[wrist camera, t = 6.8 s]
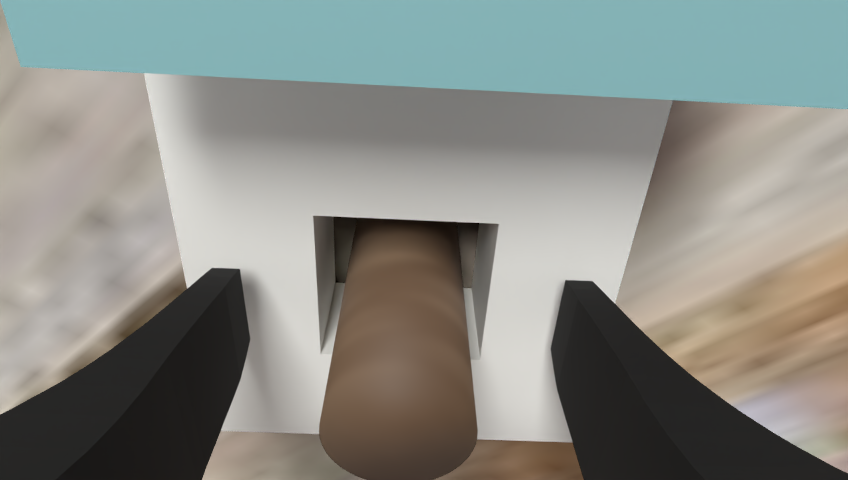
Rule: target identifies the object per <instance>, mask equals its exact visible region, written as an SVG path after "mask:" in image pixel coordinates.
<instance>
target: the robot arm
mask: <svg viewBox="0 0 848 480" xmlns="http://www.w3.org/2000/svg"><path fill="white" fill-rule="evenodd" d="M249 343H250V334H249V327H248V320H247V313H246V307H245V300H244V293H243V286H242V280H241V273H240V269H233V268H211V269H210V270H209V271H207V272H206V273H205V274H204V275H203V276H201V277H200V278H199V279H198V280H197V281H196V282H194V283H193V284H192V285H191V286H190V287H189V288H188V289H186V290H185V291H184V292H183V293H182V294H181V295H179V296H178V297H177V298H176V299H175V300H174V301H172V302H171V303H170V304H169V305H168V306H166V307H165V308H164V309H163V310H162V311H160V312H159V313H158V314H157V315H155V316H154V317H153V318H152V319H151V320H149V321H148V322H147V323H146V324H144V325H143V326H142V327H140V328H139V329H138V330H136V331H135V332H134V333H132V334H131V335H130V336H128V337H127V338H126V339H124V340H123V341H122V342H120V343H119V344H118V345H116V346H115V347H114V348H112V349H111V350H110V351H108V352H107V353H105V354H104V355H102V356H101V357H99V358H98V359H96V360H95V361H93V362H92V363H90V364H89V365H87V366H86V367H84V368H83V369H81V370H79V371H78V372H76V373H75V374H73V375H71V376H70V377H68V378H67V379H65V380H63V381H62V382H60V383H58V384H57V385H55V386H53V387H51V388H49V389H47V390H46V391H44V392H42V393H40V394H38V395H36V396H35V397H33V398H31V399H29V400H27V401H25V402H24V403H22V404H20V405H18V406H16V407H14V408H13V409H11V410H9V411H7V412H5V413H3V414H1V415H0V480H202V478H203V475H204V472H205V469H206V466H207V464H208V461H209V459H210V456H211V454H212V451H213V449H214V446H215V444H216V441H217V439H218V436H219V434H220V431H221V429H222V426H223V424H224V421H225V419H226V416H227V413H228V411H229V408H230V406H231V403H232V401H233V398H234V396H235V393H236V390H237V388H238V385H239V382H240V380H241V376H242V372H243V368H244V364H245V360H246V356H247V352H248V347H249ZM551 355H552V362H553V369H554V375H555V381H556V387H557V391H558V395H559V398H560V402H561V405H562V408H563V412H564V415H565V419H566V422H567V425H568V429H569V432H570V435H571V438H572V442H573V445H574V448H575V452H576V455H577V458H578V462H579V465H580V468H581V471H582V475H583V478H584V480H848V473H846V472H843V471H841V470H839V469H837V468H835V467H833V466H831V465H830V464H828V463H826V462H824V461H822V460H820V459H819V458H817V457H815V456H813V455H811V454H809V453H808V452H806V451H804V450H802V449H800V448H798V447H797V446H795V445H793V444H791V443H790V442H788V441H786V440H785V439H783V438H781V437H780V436H778V435H776V434H774V433H773V432H771V431H770V430H768V429H767V428H765V427H763V426H762V425H760V424H759V423H757V422H756V421H754V420H752V419H751V418H749V417H748V416H746V415H745V414H743V413H742V412H740V411H739V410H737V409H736V408H734V407H733V406H731V405H730V404H729V403H727V402H726V401H724V400H723V399H722V398H720V397H719V396H718V395H716V394H715V393H714V392H712V391H711V390H710V389H708V388H707V387H706V386H704V385H703V384H702V383H700V382H699V381H698V380H697V379H695V378H694V377H693V376H692V375H690V374H689V373H688V372H687V371H685V370H684V369H683V368H682V367H681V366H680V365H679V364H677V363H676V362H675V361H674V360H673V359H672V358H670V357H669V356H668V355H667V354H666V353H665V352H664V351H663V350H661V349H660V348H659V347H658V346H657V345H656V344H655V343H654V342H653V341H652V340H651V339H650V338H649V337H647V336H646V335H645V334H644V333H643V332H642V331H641V330H640V329H639V328H638V327H637V326H636V325H635V324H634V323H633V322H632V321H631V320H630V319H629V318H628V317H627V316H626V315H625V314H624V313H623V312H622V311H621V310H620V309H619V308H618V307H617V305H616V304H615V303H614V302H613V301H612V300H611V299H610V298H609V297H608V296H607V295H606V294H605V293H604V292H603V291H602V290H601V289H600V288H599V287H598V286H597V285H596V284H595V283H594V282H593V281H578V280H565V284H564V288H563V293H562V298H561V302H560V307H559V312H558V316H557V321H556V326H555V331H554V335H553V340H552V345H551Z"/></svg>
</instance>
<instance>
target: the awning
mask: <svg viewBox="0 0 848 480" xmlns="http://www.w3.org/2000/svg"><path fill="white" fill-rule="evenodd" d="M0 1H1V4H2V8H3V11H4V14H5V17H6V20H7V24H8V27H9V30H10V33H11V37H12V40H13V43H14V46H15V49H16V53H17V56H18V59H19V62H20V65H21V67H35V68H54V69H74V70H93V71H113V72H132V73H152V74H172V75H191V76H211V77H230V78H250V79H269V80H289V81H308V82H328V83H348V84H367V85H387V86H406V87H426V88H445V89H465V90H484V91H504V92H523V93H543V94H563V95H582V96H602V97H621V98H641V99H660V100H680V101H699V102H719V103H739V104H758V105H778V106H797V107H817V108H836V109H848V0H0Z"/></svg>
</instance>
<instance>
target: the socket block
mask: <svg viewBox="0 0 848 480" xmlns="http://www.w3.org/2000/svg"><path fill="white" fill-rule="evenodd" d="M144 76H145V81H146V86H147V91H148V96H149V101H150V106H151V111H152V116H153V121H154V126H155V131H156V136H157V141H158V146H159V151H160V156H161V161H162V166H163V171H164V176H165V181H166V186H167V191H168V196H169V201H170V205H171V210H172V215H173V220H174V225H175V230H176V235H177V240H178V245H179V250H180V255H181V260H182V265H183V270H184V275H185V280H186V285H187V289H188V288H189V287H190V286H191V285H192V284H193V283H194V282H196V281H197V280H198V279H199V278H200V277H201V276H203V275H204V274H205V273H206V272H207V271H209V270H210V269H211V268H233V269H240V273H241V280H242V286H243V293H244V300H245V307H246V313H247V320H248V327H249V334H250V343H249V347H248V352H247V356H246V360H245V364H244V368H243V372H242V376H241V380H240V382H239V385H238V388H237V390H236V393H235V396H234V398H233V401H232V403H231V406H230V408H229V411H228V413H227V416H226V419H225V421H224V424H223V426H222V429H221V431H240V432H270V433H301V434H319V423H320V418H321V413H322V407H323V402H324V396H325V391H326V385H327V380H328V374H329V369H330V364H331V358H332V353H333V347H334V342H335V336H336V331H337V325H338V320H339V315H340V309H341V304H342V298H343V293H344V287H345V283H335V254H334V224H333V216H334V217H357V218H379V219H402V220H425V221H447V222H470V223H479V229H478V237H477V246H476V254H475V263H474V271H473V279H472V288H463V289H464V299H465V309H466V319H467V329H468V339H469V349H470V359H471V369H472V379H473V389H474V399H475V409H476V418H477V428H478V434H477V439H484V440H514V441H545V442H572V438H571V435H570V432H569V429H568V425H567V422H566V419H565V415H564V412H563V408H562V405H561V402H560V398H559V395H558V391H557V387H556V381H555V375H554V369H553V362H552V355H551V345H552V340H553V335H554V331H555V326H556V321H557V316H558V312H559V307H560V302H561V298H562V293H563V288H564V284H565V280H578V281H593V282H594V283H595V284H596V285H597V286H598V287H599V288H600V289H601V290H602V291H603V292H604V293H605V294H606V295H607V296H608V297H609V298H610V299H611V300H612V301H613V302H614V303H615V302H616V298H617V295H618V291H619V288H620V284H621V281H622V277H623V274H624V270H625V267H626V263H627V260H628V256H629V253H630V249H631V246H632V242H633V239H634V235H635V232H636V228H637V225H638V221H639V218H640V214H641V211H642V207H643V204H644V200H645V197H646V193H647V190H648V187H649V183H650V180H651V176H652V173H653V169H654V166H655V162H656V159H657V155H658V152H659V148H660V145H661V141H662V138H663V134H664V131H665V127H666V124H667V120H668V117H669V113H670V110H671V106H672V103H673V100H660V99H641V98H621V97H602V96H582V95H563V94H543V93H523V92H504V91H484V90H465V89H445V88H426V87H406V86H387V85H367V84H348V83H328V82H308V81H289V80H269V79H250V78H230V77H211V76H191V75H172V74H152V73H144Z"/></svg>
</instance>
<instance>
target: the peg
mask: <svg viewBox="0 0 848 480" xmlns="http://www.w3.org/2000/svg"><path fill="white" fill-rule="evenodd" d="M477 434H478V428H477V418H476V409H475V399H474V389H473V379H472V369H471V359H470V349H469V339H468V329H467V319H466V309H465V299H464V289H463V280H462V270H461V260H460V250H459V240H458V230H457V222H447V221H425V220H402V219H379V218H357V222H356V228H355V233H354V238H353V244H352V249H351V255H350V260H349V266H348V271H347V277H346V282H345V287H344V293H343V298H342V304H341V309H340V315H339V320H338V325H337V331H336V336H335V342H334V347H333V353H332V358H331V364H330V369H329V374H328V380H327V385H326V391H325V396H324V402H323V407H322V413H321V418H320V423H319V436H320V440H321V443H322V446H323V448H324V449H325V451H326V453H327V454H328V455H329V457H330V458H331V459H332V460H333V461H334V462H335V463H336V464H338V465H339V466H340V467H342V468H343V469H345V470H346V471H348V472H350V473H352V474H354V475H356V476H358V477H361V478H364V479H367V480H433V479H436V478H438V477H441V476H443V475H445V474H447V473H449V472H451V471H453V470H454V469H456V468H457V467H458V466H460V465H461V464H462V463H463V462H464V461H465V460H466V459H467V458H468V457H469V455H470V454H471V452H472V451H473V449H474V447H475V444H476V441H477Z"/></svg>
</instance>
